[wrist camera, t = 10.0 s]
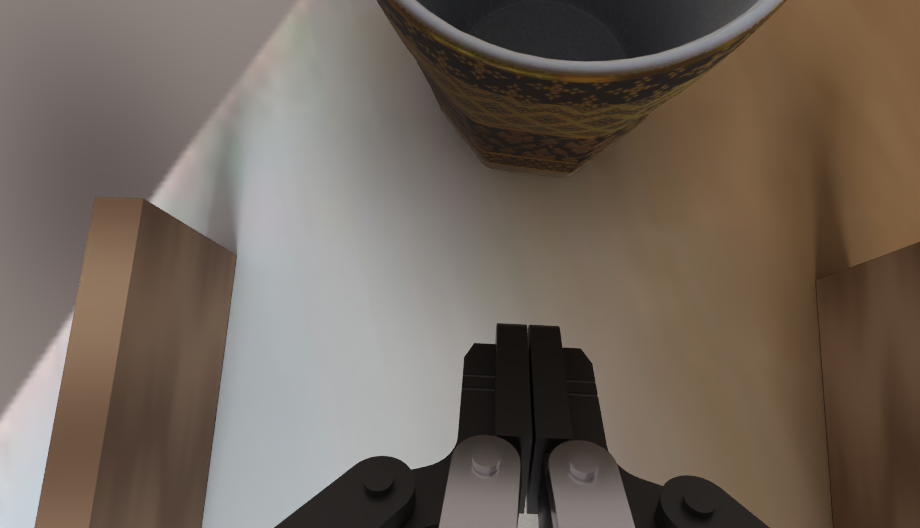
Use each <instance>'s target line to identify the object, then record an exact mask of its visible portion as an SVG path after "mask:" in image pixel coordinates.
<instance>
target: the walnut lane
mask: <svg viewBox="0 0 920 528" xmlns="http://www.w3.org/2000/svg"><path fill="white" fill-rule="evenodd" d="M236 257H237V255H235V254H233V253H232V252H230V251H228V250H227V249H225V248H224V247H222V246H220V245H219V244H217V243H215V242H214V241H212V240H210V239H209V238H207V237H205V236H204V235H202V234H201V233H199V232H197V231H196V230H194V229H192V228H191V227H189V226H187V225H186V224H184V223H183V222H181V221H179V220H178V219H176V218H174V217H173V216H171V215H169V214H168V213H166V212H165V211H163V210H161V209H160V208H158V207H156V206H155V205H153V204H151V203H150V202H148V201H146V200H145V199H139V198H114V197H95V201H94V206H93V212H92V218H91V223H90V229H89V234H88V239H87V245H86V250H85V256H84V261H83V266H82V272H81V277H80V283H79V288H78V294H77V299H76V304H75V310H74V315H73V321H72V326H71V332H70V337H69V343H68V348H67V353H66V359H65V364H64V370H63V375H62V381H61V386H60V392H59V397H58V403H57V408H56V413H55V419H54V424H53V430H52V435H51V441H50V446H49V452H48V457H47V463H46V468H45V473H44V479H43V484H42V490H41V495H40V501H39V506H38V512H37V517H36V522H35V528H201V526H202V518H203V510H204V503H205V495H206V487H207V480H208V472H209V464H210V456H211V449H212V441H213V433H214V426H215V418H216V410H217V403H218V395H219V387H220V380H221V372H222V364H223V357H224V349H225V341H226V334H227V326H228V318H229V311H230V303H231V295H232V287H233V280H234V272H235V264H236ZM816 290H817V304H818V318H819V332H820V345H821V359H822V373H823V387H824V401H825V415H826V429H827V443H828V457H829V471H830V485H831V499H832V513H833V527H834V528H920V242H918V243H915V244H913V245H910V246H907V247H905V248H902V249H899V250H897V251H894V252H891V253H888V254H886V255H883V256H880V257H878V258H875V259H872V260H869V261H867V262H864V263H861V264H859V265H856V266H853V267H850V268H848V269H845V270H842V271H840V272H837V273H834V274H831V275H829V276H826V277H823V278H821V279H818V280H816Z"/></svg>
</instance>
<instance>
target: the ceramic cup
mask: <svg viewBox="0 0 920 528" xmlns="http://www.w3.org/2000/svg"><path fill="white" fill-rule="evenodd" d="M786 1H787V0H377V2H378V3H379V5H380V7H381V8H382V10H383V11H384V13H385V15H386V16H387V18H388V19H389V21H390V23H391V24H392V26H393V27H394V29H395V31H396V32H397V34H398V35H399V37H400V39H401V40H402V42H403V43H404V44H405V46H406V47H407V49H408V50H409V51H410V53H411V54H412V55H413V56H414V58H415V59H416V61H417V63H418V64H419V66H420V68H421V70H422V72H423V73H424V75H425V77H426V79H427V81H428V83H429V84H430V86H431V88H432V91H433V93H434V95H435V97H436V99H437V101H438V103H439V105H440V108H441V110H442V112H443V113H444V114H445V116H446V117H447V118H448V120H449V121H450V122H451V123H452V125H453V126H454V127H455V128H456V130H457V131H458V132H459V133H460V135H461V136H462V137H463V139H464V140H465V141H466V142H467V144H468V145H469V146H470V147H471V149H472V150H473V151H474V152H475V154H476V155H477V156H478V157H479V159H480V160H481V161H482V162H483V163H484V164H485V165H486V166H487V167H489V168H492V169H500V170H507V171H515V172H522V173H530V174H537V175H545V176H552V177H561V178H565V177H568V176H570V175H572V174H573V173H574V172H576V171H577V170H579V169H580V168H582V167H583V166H584V165H586V164H587V163H588V162H590V161H591V160H593V159H594V158H595V157H597V156H598V155H599V154H601V153H602V152H604V151H605V150H606V149H608V148H609V147H610V146H612V145H613V144H615V143H616V142H617V141H619V140H620V139H621V138H623V137H624V136H625V135H627V134H628V133H629V132H630V131H631V130H633V129H634V128H635V127H636V126H638V125H639V124H640V123H641V122H642V121H643V120H644V119H645V118H646V117H647V116H648V115H649V114H650V113H651V112H652V111H653V110H655V109H656V108H657V107H659V106H660V105H662V104H663V103H665V102H666V101H668V100H670V99H671V98H673V97H674V96H676V95H677V94H679V93H680V92H682V91H683V90H684V89H686V88H687V87H689V86H690V85H692V84H693V83H694V82H696V81H697V80H698V79H699V78H701V77H702V76H703V75H704V74H705V73H707V72H708V71H709V70H710V69H712V68H713V67H714V66H715V65H717V64H718V63H719V62H720V61H722V60H723V59H724V58H725V57H727V56H728V55H729V54H730V53H731V52H733V51H734V50H735V49H736V48H737V47H739V46H740V45H741V44H742V43H743V42H744V41H745V40H746V39H747V38H748V37H749V36H750V35H751V34H753V33H754V32H755V31H756V30H757V29H758V28H759V27H760V26H761V25H762V24H763V23H764V22H765V21H766V20H767V19H768V18H769V17H771V16H772V15H773V14H774V13H775V12H776V11H777V10H778V9H779V8H780V7H781V6H782V5H783V4H784V3H785V2H786Z"/></svg>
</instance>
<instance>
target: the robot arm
mask: <svg viewBox="0 0 920 528" xmlns="http://www.w3.org/2000/svg"><path fill="white" fill-rule="evenodd" d="M525 498H526V502H527V514H538V520H539V528H769V527H768V526H767V525H765V524H764V523H763V522H762V521H761V520H759V519H758V518H757V517H756V516H754V515H753V514H752V513H751V512H749V511H748V510H747V509H746V508H745V507H743V506H742V505H741V504H740V503H738V502H737V501H736V500H735V499H733V498H732V497H731V496H730V495H729V494H727V493H726V492H725V491H724V490H722V489H721V488H720V487H718V486H717V485H716V484H714V483H712V482H710V481H708V480H706V479H703V478H700V477H696V476H678V477H675V478H672V479H670V480H669V481H668V482H666V483H665V485H664V486H661V485H658V484H655V483H652V482H649V481H646V480H643V479H640V478H638V477H635V476H633V475H631V474H629V473H628V472H626V471H625V470H623V469H622V468H621V467H620V466H619V465H618V464H617V463H616V461H615V459H614V458H613V457H612V455H611V454H610V453H609V451H608V449H607V445H606V439H605V434H604V428H603V422H602V417H601V411H600V405H599V400H598V397H597V389H596V384H595V377H594V372H593V366H592V363H591V362H590V360H589V359H588V358H587V356H586V355H585V354H584V352H583V351H582V350H581V349H578V348H562V343H561V334H560V328H559V326H544V325H529V326H528V333H527V325H521V324H502V323H497V327H496V342H495V344H480V343H474V344H473V346H472V347H471V349H470V350H469V351H468V353H467V354H466V356H465V357H464V368H463V381H462V393H461V406H460V418H459V430H458V439H457V443H456V446H455V447H454V449H453V451H452V452H451V453H450V454H449V455H448V456H447V457H446V458H444V459H443V460H441V461H440V462H438V463H435V464H433V465H430V466H426V467H422V468H417V469H413V470H411V469H410V468H409V467H408V466H407V465H406V464H405V463H404V462H402V461H401V460H398V459H396V458H393V457H388V456H376V457H371V458H368V459H365V460H363V461H361V462H359V463H358V464H356V465H355V466H353V467H352V468H351V469H349V470H348V471H347V472H346V473H344V474H343V475H342V476H340V477H339V478H338V479H337V480H335V481H334V482H333V483H331V484H330V485H329V486H327V487H326V488H325V489H324V490H322V491H321V492H320V493H318V494H317V495H316V496H315V497H313V498H312V499H311V500H309V501H308V502H307V503H306V504H304V505H303V506H302V507H300V508H299V509H298V510H296V511H295V512H294V513H293V514H291V515H290V516H289V517H287V518H286V519H285V520H284V521H282V522H281V523H280V524H278V525H277V526H276V527H274V528H517V526H518V517H519V513H524V507H525Z"/></svg>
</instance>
